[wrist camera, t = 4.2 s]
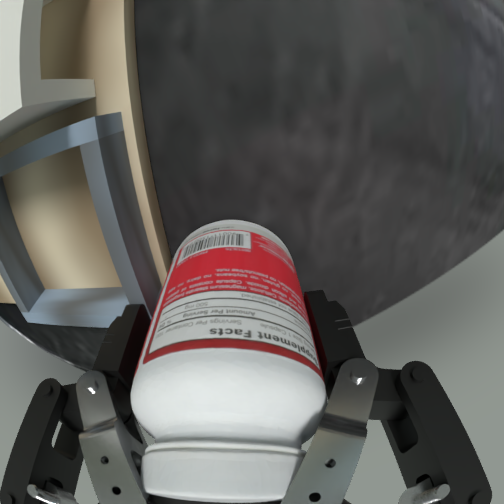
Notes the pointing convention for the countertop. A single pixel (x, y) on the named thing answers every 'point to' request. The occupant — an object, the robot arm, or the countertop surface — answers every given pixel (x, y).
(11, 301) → the base board
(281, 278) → the pill bottle
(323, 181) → the countertop surface
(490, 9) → the countertop surface
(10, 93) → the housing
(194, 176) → the countertop surface
